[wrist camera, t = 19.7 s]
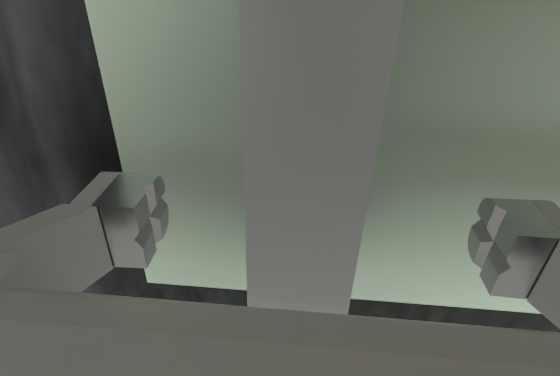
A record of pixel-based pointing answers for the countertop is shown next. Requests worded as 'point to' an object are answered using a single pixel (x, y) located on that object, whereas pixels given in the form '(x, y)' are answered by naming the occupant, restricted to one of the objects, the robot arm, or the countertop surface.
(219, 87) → the lid
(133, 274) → the countertop surface
